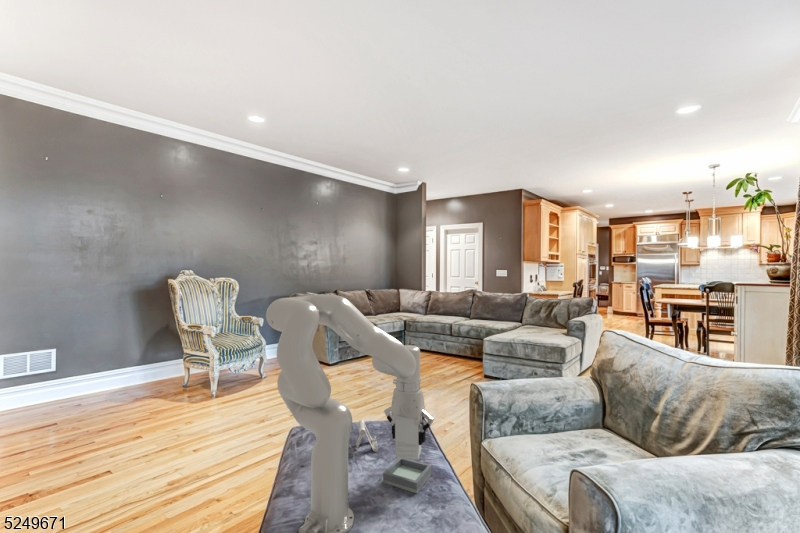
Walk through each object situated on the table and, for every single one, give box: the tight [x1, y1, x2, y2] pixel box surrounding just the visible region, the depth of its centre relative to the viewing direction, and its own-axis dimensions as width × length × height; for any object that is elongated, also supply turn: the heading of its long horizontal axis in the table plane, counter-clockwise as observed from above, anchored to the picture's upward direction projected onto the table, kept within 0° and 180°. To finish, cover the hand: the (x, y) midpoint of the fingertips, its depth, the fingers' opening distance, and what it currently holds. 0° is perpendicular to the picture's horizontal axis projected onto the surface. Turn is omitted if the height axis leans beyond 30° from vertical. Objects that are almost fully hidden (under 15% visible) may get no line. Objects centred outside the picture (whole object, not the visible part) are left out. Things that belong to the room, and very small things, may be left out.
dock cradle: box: [382, 458, 433, 494], centre depth 119 cm, size 12×12×3 cm
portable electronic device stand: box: [355, 419, 379, 452], centre depth 140 cm, size 9×8×8 cm
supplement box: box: [394, 416, 422, 461], centre depth 119 cm, size 7×7×13 cm
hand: (408, 440), depth 119 cm, fingers closed on supplement box, 8 cm apart
